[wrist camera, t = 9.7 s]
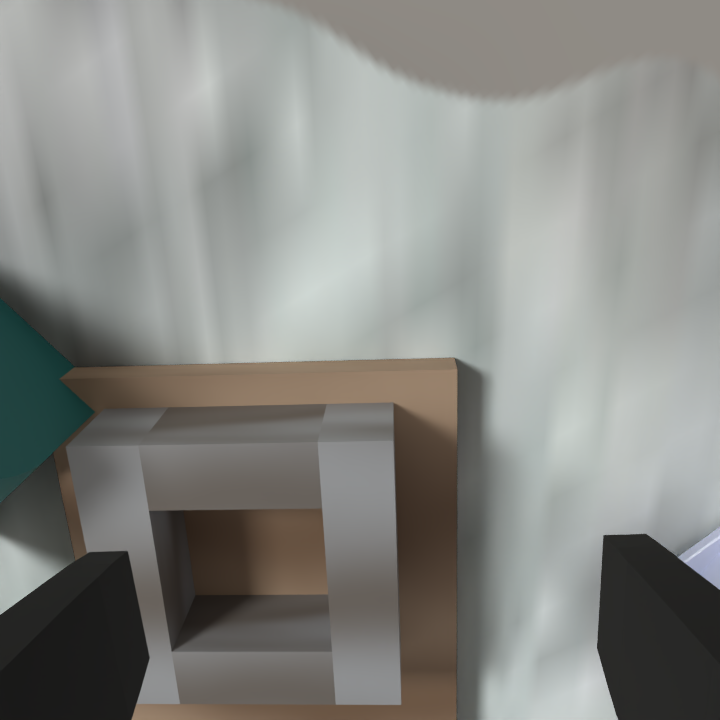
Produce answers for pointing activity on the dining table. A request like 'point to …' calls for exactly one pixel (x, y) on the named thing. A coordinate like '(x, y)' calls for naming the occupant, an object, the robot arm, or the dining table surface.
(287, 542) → the housing plate
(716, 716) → the robot arm
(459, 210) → the dining table surface
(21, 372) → the bracket
